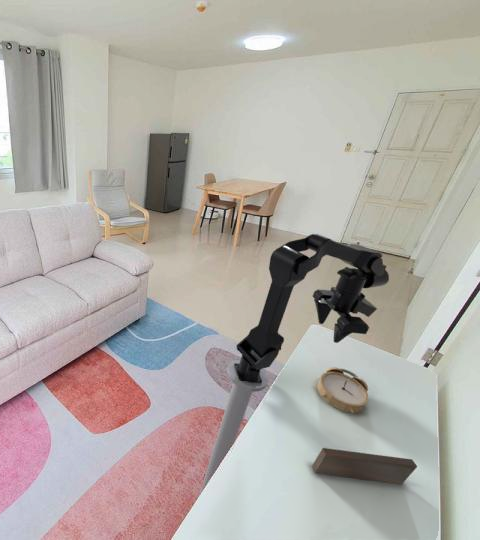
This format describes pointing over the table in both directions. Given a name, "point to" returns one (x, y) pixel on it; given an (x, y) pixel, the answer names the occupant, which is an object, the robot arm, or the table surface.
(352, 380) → the alarm clock
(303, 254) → the robot arm
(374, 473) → the shelf back
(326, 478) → the table surface
